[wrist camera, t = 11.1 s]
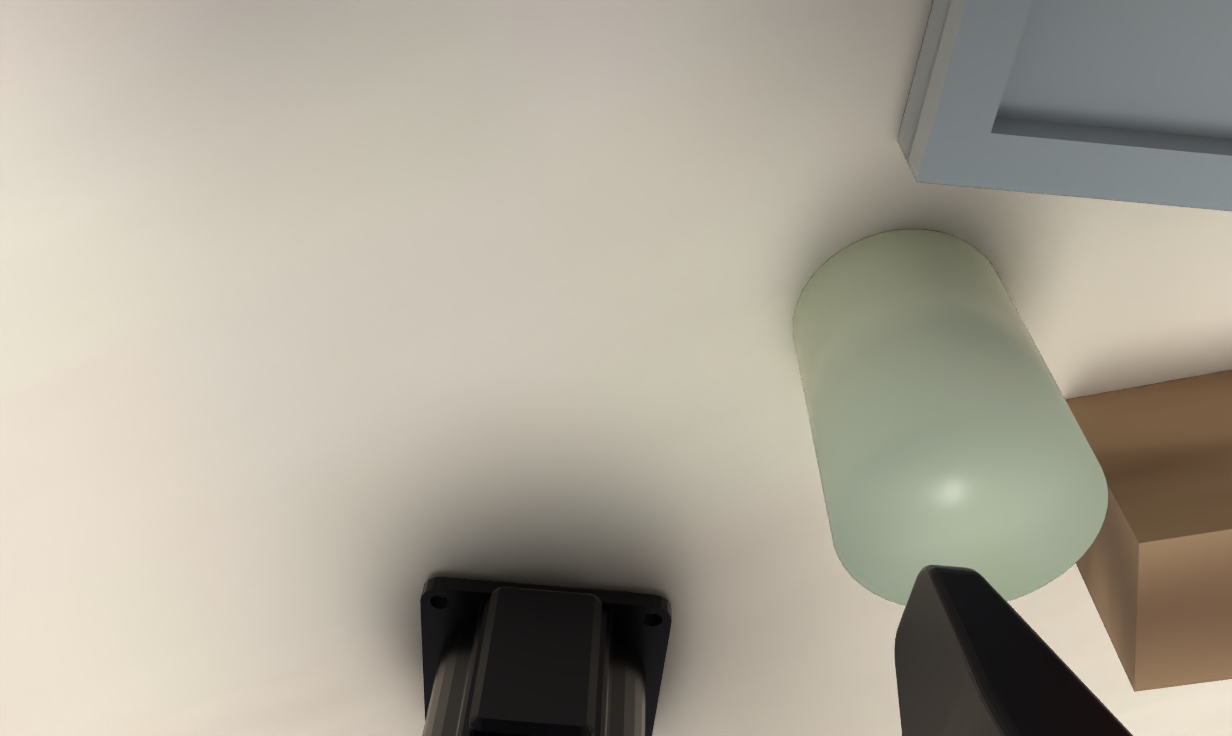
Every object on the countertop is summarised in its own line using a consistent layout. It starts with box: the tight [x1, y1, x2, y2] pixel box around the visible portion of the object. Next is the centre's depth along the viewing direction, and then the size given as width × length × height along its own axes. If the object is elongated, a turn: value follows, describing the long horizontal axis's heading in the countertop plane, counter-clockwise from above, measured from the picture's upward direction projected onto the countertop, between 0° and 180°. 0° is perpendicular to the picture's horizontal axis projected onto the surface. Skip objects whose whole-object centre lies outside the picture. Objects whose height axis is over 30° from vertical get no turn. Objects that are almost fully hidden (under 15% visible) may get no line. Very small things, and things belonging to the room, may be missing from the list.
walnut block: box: [1065, 370, 1232, 692], centre depth 22 cm, size 4×4×4 cm
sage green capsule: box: [793, 229, 1108, 606], centre depth 19 cm, size 4×4×6 cm
